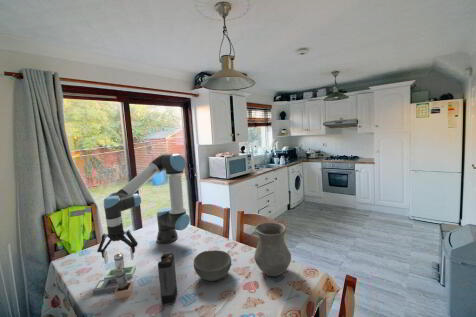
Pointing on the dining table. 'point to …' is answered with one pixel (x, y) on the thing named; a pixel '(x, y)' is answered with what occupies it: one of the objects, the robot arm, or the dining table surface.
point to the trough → (129, 270)
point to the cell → (119, 261)
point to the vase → (272, 249)
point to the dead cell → (121, 279)
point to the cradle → (105, 286)
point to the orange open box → (124, 292)
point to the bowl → (212, 264)
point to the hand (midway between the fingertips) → (119, 260)
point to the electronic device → (167, 279)
